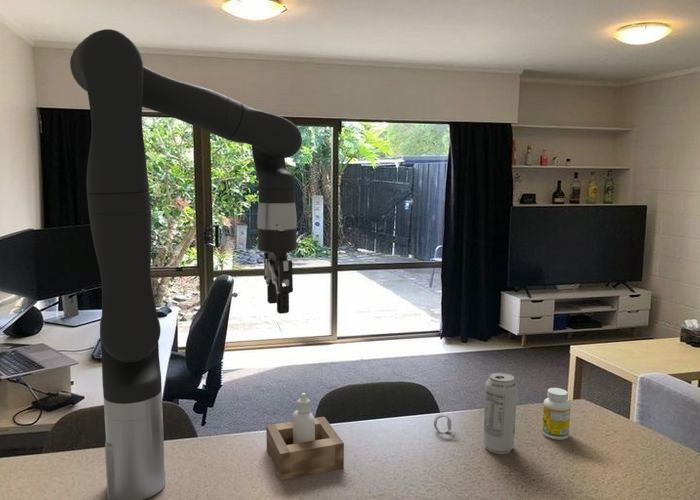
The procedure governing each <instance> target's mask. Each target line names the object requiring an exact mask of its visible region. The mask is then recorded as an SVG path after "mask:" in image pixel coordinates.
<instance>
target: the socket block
mask: <svg viewBox="0 0 700 500" xmlns="http://www.w3.org/2000/svg"><path fill="white" fill-rule="evenodd" d="M314 420H315V441H309V442H303V443H297V444H293V420H292V421H287V422H286V421H285V422H280V423H279V422H278V423H273V424H267V425H265V426H266V427H265V428H266V435H265V436H266V451H267V452H268V455H269V457H270V460H271V462H272V464H273V467H274V469H275V471H276V473H277V475H278V478H279V480H280V481H282V480H290V479H294V478H300V477H305V476H309V475H315V474H321V473H326V472H332V471H338V470H343V469H344V468H345V463H344V462H345V442H344V441H343V440H342V439H341V437H340V436H339V434H338V433H337V432H336V430H335V429H334V428H333V427H332V425H331V424H330V422H329V421H328V420H327V418H326V417H325V416H320V417H314Z"/></svg>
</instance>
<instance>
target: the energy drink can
mask: <svg viewBox="0 0 700 500" xmlns="http://www.w3.org/2000/svg"><path fill="white" fill-rule="evenodd" d="M484 391H485V392H484V412H483V413H484V414H483V417H484V418H483V437H482V438H483V439H482V443H483V445H484V446H485V448H486V450H487V451H488V452H490V453H493V454H498V455H507V454H509V453H510V452H511V451H512V449H514V448H515V435H516V434H515V433H516V432H515V431H516V415H517V413H516V412H517V396H518V394H517V393H518V385H517V383H516V381H515V377H514V375H512V374H510V373H507V372H500V371H499V372H495V371H494V372H492V373H489V375H488V379H486V381H485V389H484Z"/></svg>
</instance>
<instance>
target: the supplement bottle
mask: <svg viewBox="0 0 700 500" xmlns="http://www.w3.org/2000/svg"><path fill="white" fill-rule="evenodd" d="M546 395H547V397H546V398H545V399H544V400H543V408H542V423H541V424H542V425H541V432H542V434H543V435H544V436H545V437H547V438H549V439H553V440H557V441H559V440H560V441H561V440H562V441H563V440H566V439H567V438H569V435H570V421H571V420H570V419H571V406H572V405H571V404H570V401H568V398H569V392H568V391H567V390H565V389H563V388H559V387H549V388H548V389H547V394H546Z"/></svg>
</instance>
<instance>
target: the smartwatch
mask: <svg viewBox="0 0 700 500" xmlns="http://www.w3.org/2000/svg"><path fill="white" fill-rule="evenodd" d="M443 417H444V418H446V419H447V425H446V427H447V428H445V429H439V428H438V426H437V424H438V420H439V419H440V418H443ZM433 427H434V429H435V430H436V431H437V432H438V433H440V434H446V433H448V432H449V431H451V430H452V418H451V417H450V416H449V415H448V414H447V413H438V414H437V415H435V417H434V420H433Z"/></svg>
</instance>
